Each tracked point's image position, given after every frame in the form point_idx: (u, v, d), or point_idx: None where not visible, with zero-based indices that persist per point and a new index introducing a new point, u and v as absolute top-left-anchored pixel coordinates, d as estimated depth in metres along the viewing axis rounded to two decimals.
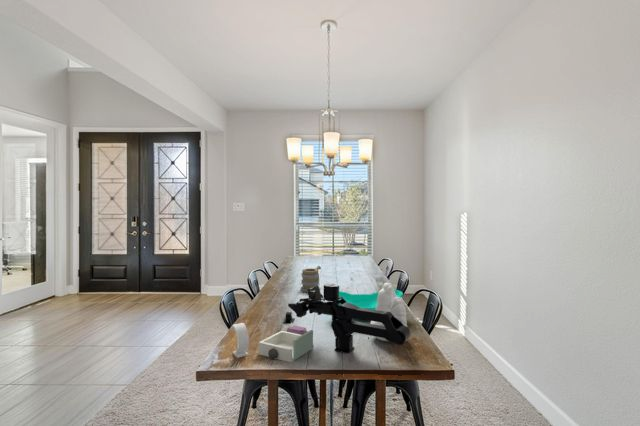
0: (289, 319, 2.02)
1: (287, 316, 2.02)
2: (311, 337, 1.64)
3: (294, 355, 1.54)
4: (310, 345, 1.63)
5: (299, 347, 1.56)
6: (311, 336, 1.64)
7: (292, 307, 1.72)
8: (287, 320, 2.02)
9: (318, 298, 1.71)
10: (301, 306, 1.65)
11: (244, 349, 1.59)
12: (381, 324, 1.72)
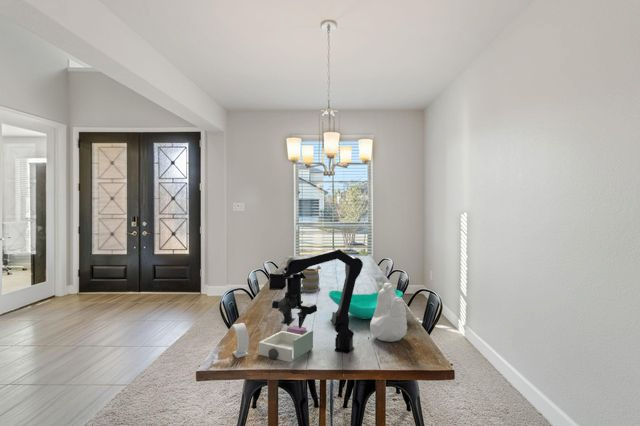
0: None
1: None
2: (311, 337, 1.64)
3: (294, 355, 1.54)
4: (310, 345, 1.63)
5: (299, 347, 1.56)
6: (311, 336, 1.64)
7: (302, 321, 1.60)
8: None
9: (290, 297, 1.58)
10: (310, 307, 1.55)
11: (244, 349, 1.59)
12: (381, 324, 1.72)
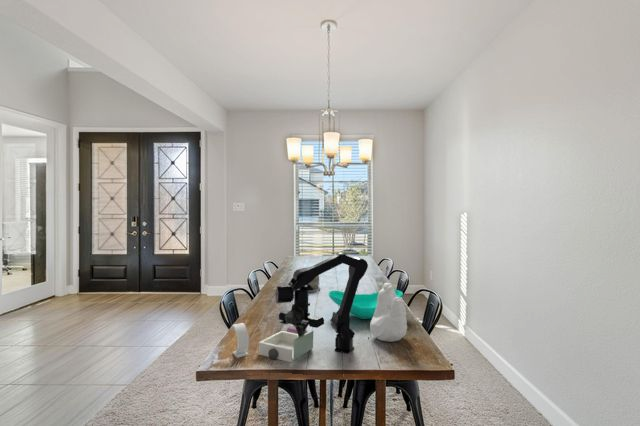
0: None
1: None
2: (311, 337, 1.64)
3: (294, 355, 1.54)
4: (310, 345, 1.63)
5: (299, 347, 1.56)
6: (311, 336, 1.64)
7: (303, 332, 1.60)
8: (284, 320, 2.03)
9: (297, 310, 1.56)
10: (318, 320, 1.54)
11: (244, 349, 1.59)
12: (381, 324, 1.72)
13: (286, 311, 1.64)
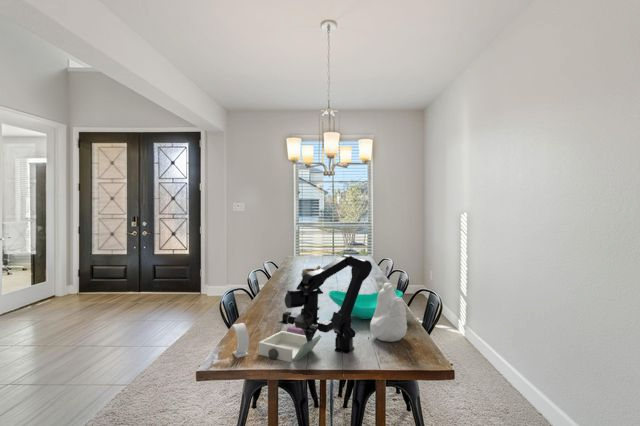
0: (285, 319, 2.03)
1: (284, 316, 2.03)
2: (316, 342, 1.63)
3: (296, 357, 1.54)
4: (312, 347, 1.63)
5: (303, 351, 1.55)
6: (317, 341, 1.63)
7: (312, 336, 1.58)
8: (284, 320, 2.03)
9: (306, 314, 1.54)
10: (327, 325, 1.51)
11: (244, 349, 1.59)
12: (381, 324, 1.72)
13: (295, 315, 1.61)
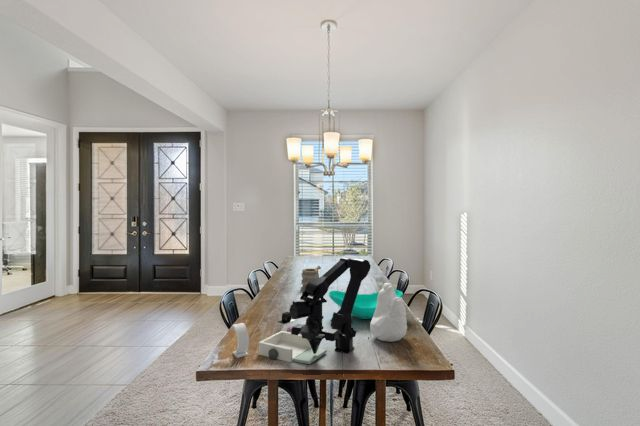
0: (284, 319, 2.03)
1: (283, 315, 2.03)
2: None
3: (296, 361, 1.54)
4: None
5: None
6: None
7: (318, 346, 1.57)
8: (283, 319, 2.03)
9: (312, 324, 1.53)
10: (334, 334, 1.51)
11: (244, 349, 1.59)
12: (381, 324, 1.72)
13: (298, 325, 1.60)
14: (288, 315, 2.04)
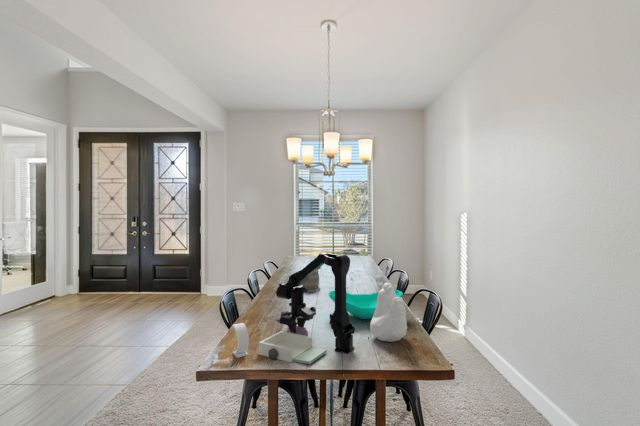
0: None
1: (281, 315, 2.05)
2: None
3: (296, 361, 1.54)
4: None
5: None
6: None
7: None
8: None
9: (304, 307, 1.78)
10: None
11: (244, 349, 1.59)
12: (381, 324, 1.72)
13: (286, 316, 1.74)
14: None
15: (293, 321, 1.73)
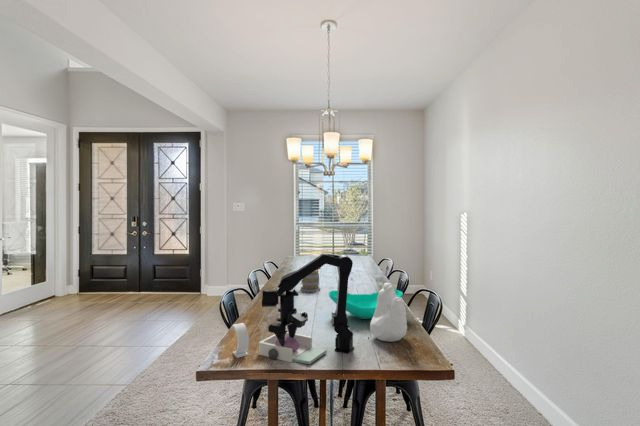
0: None
1: None
2: None
3: (296, 361, 1.54)
4: None
5: None
6: None
7: None
8: None
9: (295, 313, 1.62)
10: None
11: (244, 349, 1.59)
12: (381, 324, 1.72)
13: (276, 324, 1.57)
14: None
15: (283, 329, 1.56)
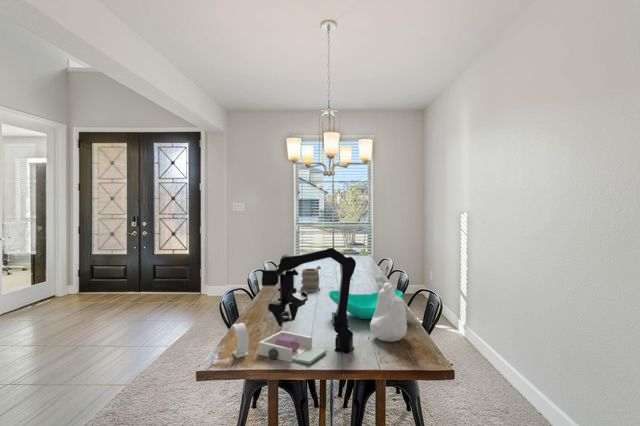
0: None
1: None
2: None
3: (296, 361, 1.54)
4: None
5: None
6: None
7: None
8: None
9: (295, 292, 1.61)
10: None
11: (244, 349, 1.59)
12: (381, 324, 1.72)
13: (275, 303, 1.57)
14: (284, 314, 2.05)
15: (283, 307, 1.56)
